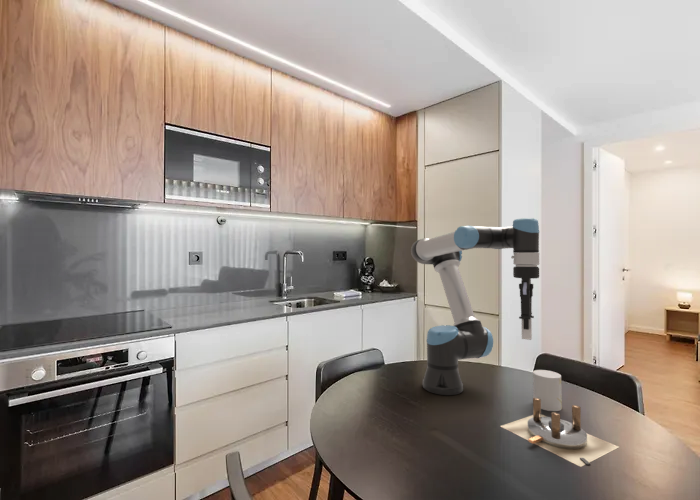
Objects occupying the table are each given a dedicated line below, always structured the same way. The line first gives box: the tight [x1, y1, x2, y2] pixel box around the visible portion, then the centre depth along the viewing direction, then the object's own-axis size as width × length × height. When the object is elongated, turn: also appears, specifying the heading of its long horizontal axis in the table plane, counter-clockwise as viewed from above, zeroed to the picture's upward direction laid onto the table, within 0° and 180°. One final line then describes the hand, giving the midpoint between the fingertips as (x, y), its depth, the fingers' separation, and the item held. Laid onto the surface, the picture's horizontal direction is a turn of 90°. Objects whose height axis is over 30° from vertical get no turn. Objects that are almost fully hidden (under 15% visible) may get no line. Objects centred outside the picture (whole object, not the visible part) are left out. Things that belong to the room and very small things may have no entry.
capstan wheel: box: [527, 397, 588, 449], centre depth 93 cm, size 14×18×8 cm
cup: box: [532, 369, 563, 412], centre depth 114 cm, size 8×8×12 cm
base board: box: [499, 413, 620, 468], centre depth 94 cm, size 23×18×2 cm
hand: (526, 338), depth 111 cm, fingers closed
